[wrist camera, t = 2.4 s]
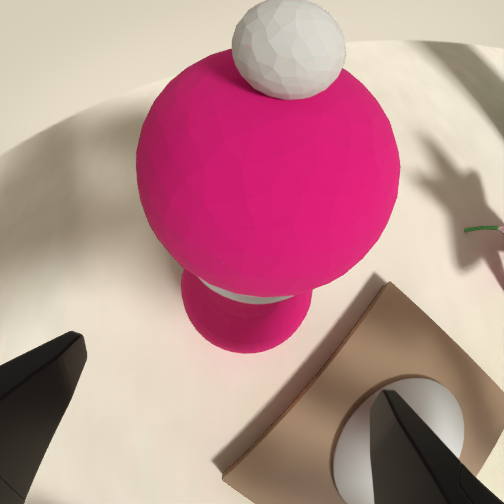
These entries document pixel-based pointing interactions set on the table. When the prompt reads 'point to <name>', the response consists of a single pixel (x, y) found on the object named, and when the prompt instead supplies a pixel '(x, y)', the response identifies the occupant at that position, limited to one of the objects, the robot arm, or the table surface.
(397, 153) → the pepper mill
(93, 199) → the table surface
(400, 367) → the brown flat square slab
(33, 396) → the robot arm
